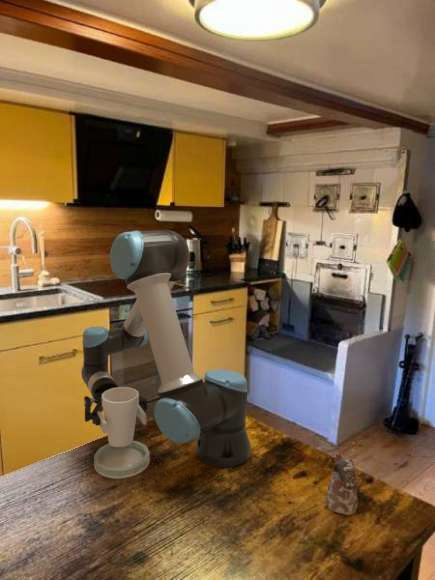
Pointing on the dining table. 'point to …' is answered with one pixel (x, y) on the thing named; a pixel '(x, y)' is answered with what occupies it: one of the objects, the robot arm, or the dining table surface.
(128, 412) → the foam cup
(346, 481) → the figurine
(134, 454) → the ceramic saucer
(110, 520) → the dining table surface
